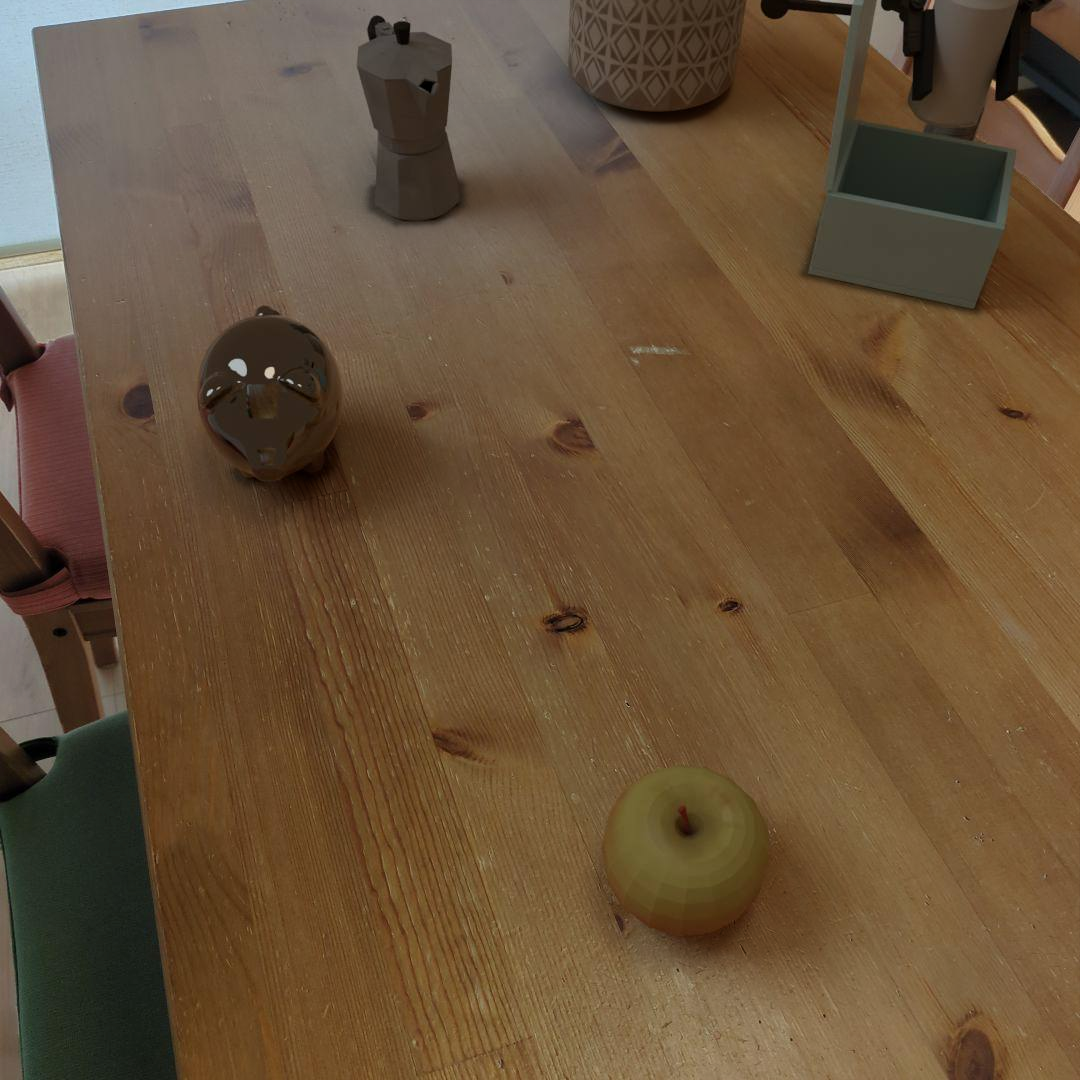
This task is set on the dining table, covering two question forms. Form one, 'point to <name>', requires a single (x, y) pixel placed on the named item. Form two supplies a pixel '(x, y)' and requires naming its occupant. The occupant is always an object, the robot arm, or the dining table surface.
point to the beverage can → (963, 59)
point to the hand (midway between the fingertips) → (964, 95)
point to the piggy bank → (270, 395)
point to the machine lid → (859, 33)
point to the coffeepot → (409, 119)
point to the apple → (685, 850)
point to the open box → (915, 213)
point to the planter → (655, 50)
